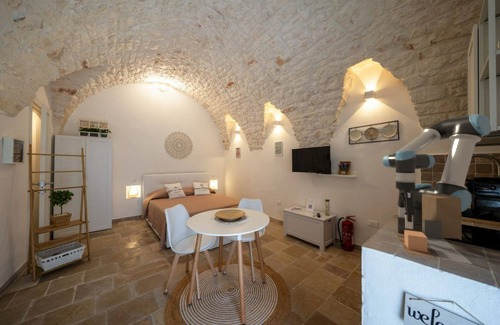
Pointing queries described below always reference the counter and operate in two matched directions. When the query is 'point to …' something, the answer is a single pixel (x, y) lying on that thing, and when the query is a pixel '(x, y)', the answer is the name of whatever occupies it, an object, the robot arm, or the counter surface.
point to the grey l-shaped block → (441, 242)
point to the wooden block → (443, 213)
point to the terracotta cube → (415, 240)
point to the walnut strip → (402, 238)
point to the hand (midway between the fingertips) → (405, 223)
